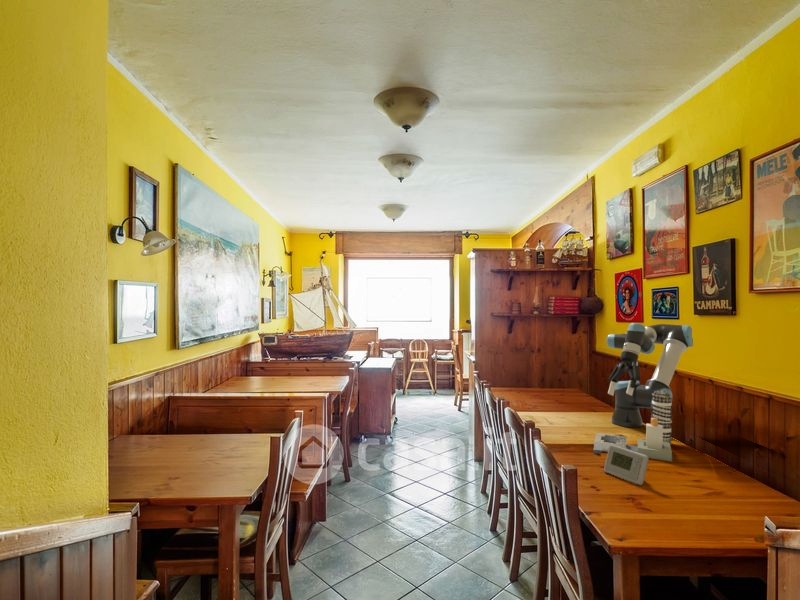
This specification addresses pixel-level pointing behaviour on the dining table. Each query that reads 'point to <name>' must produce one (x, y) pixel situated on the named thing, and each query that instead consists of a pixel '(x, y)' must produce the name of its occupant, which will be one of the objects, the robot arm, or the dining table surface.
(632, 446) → the board
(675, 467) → the dining table surface
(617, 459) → the digital clock
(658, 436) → the plug
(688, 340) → the robot arm
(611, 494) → the dining table surface
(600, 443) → the socket
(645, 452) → the grey-green cross cutout frame
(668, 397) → the decorative candle
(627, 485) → the dining table surface
